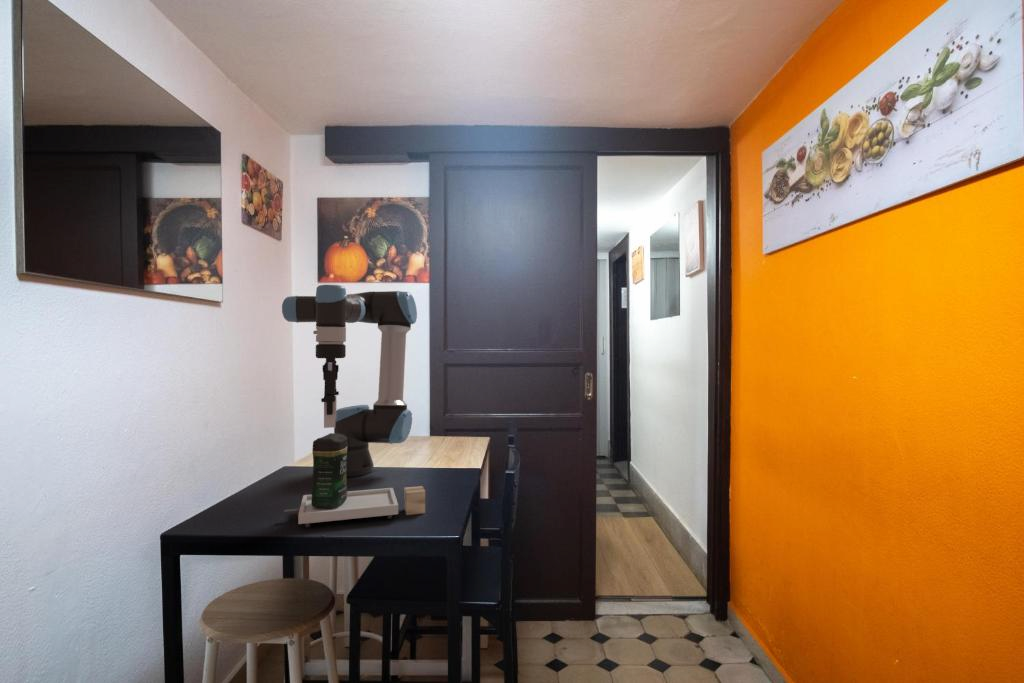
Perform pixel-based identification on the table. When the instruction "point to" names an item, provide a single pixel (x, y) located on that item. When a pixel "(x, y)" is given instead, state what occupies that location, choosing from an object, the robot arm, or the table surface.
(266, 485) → the table surface
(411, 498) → the beech block
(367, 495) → the white shallow tray
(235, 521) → the table surface
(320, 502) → the coffee jar
